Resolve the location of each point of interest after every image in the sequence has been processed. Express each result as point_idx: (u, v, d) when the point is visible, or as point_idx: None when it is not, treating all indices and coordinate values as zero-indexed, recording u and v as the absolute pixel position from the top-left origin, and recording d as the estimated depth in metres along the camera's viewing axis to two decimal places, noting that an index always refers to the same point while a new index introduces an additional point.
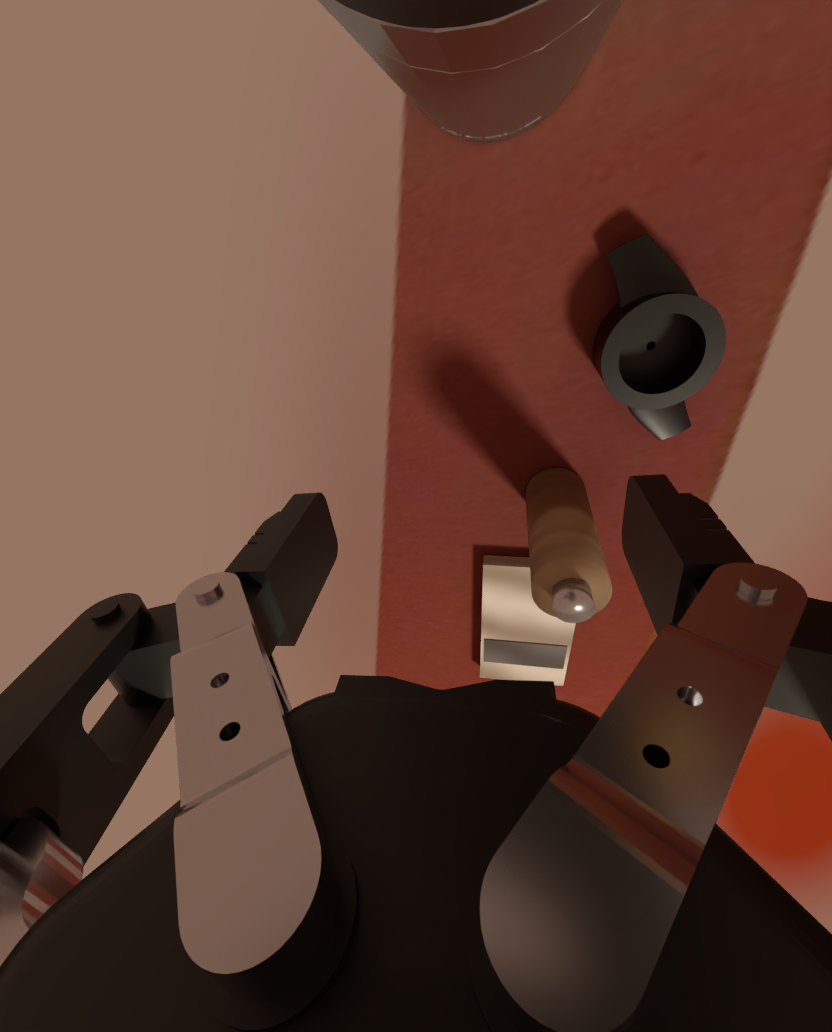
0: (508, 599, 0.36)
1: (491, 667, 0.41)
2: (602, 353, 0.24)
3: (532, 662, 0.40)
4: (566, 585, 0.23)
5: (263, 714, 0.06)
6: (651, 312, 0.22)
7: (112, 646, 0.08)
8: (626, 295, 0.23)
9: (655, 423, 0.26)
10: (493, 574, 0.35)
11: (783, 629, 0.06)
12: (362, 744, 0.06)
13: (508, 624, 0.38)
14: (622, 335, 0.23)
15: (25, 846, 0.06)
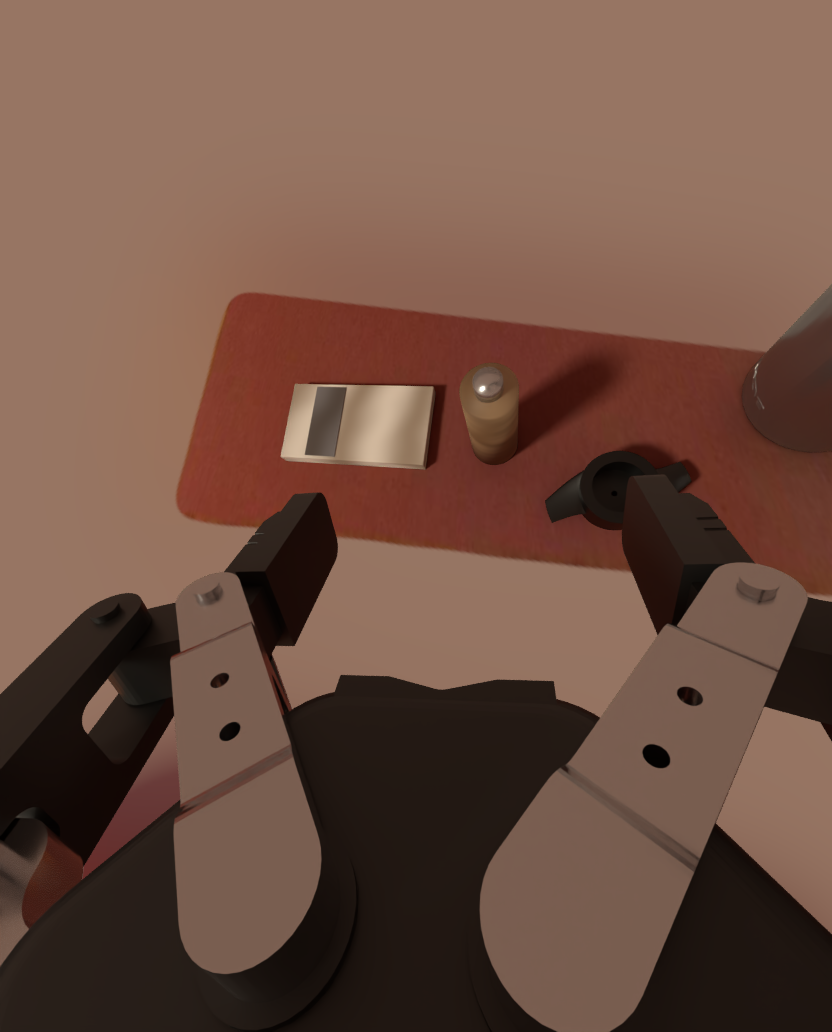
0: (393, 406, 0.42)
1: (308, 394, 0.44)
2: (625, 452, 0.35)
3: (314, 428, 0.43)
4: None
5: (263, 715, 0.06)
6: None
7: (113, 645, 0.08)
8: None
9: (561, 494, 0.36)
10: (422, 394, 0.41)
11: (783, 629, 0.06)
12: (362, 744, 0.06)
13: (363, 407, 0.42)
14: (637, 462, 0.35)
15: (25, 846, 0.06)
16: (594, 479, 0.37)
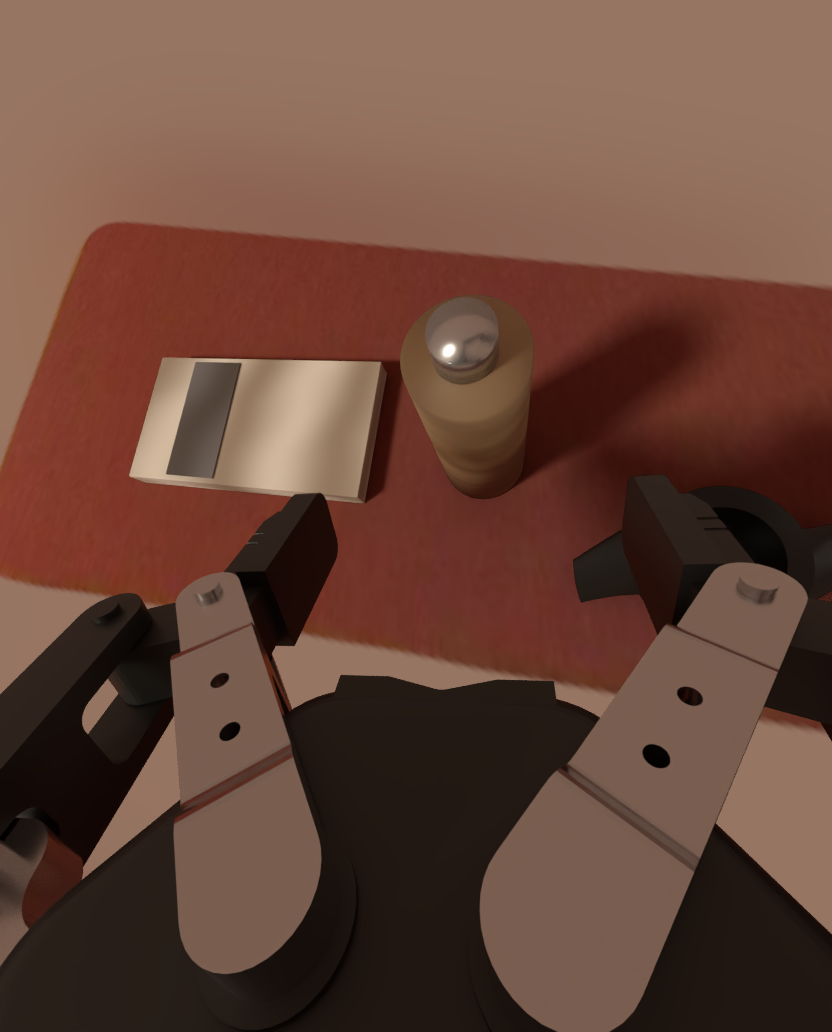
0: (313, 395, 0.25)
1: (182, 374, 0.27)
2: (744, 490, 0.18)
3: (185, 429, 0.26)
4: None
5: (263, 715, 0.06)
6: (793, 550, 0.17)
7: (112, 646, 0.08)
8: None
9: (605, 554, 0.19)
10: (362, 375, 0.24)
11: (783, 629, 0.06)
12: (362, 744, 0.06)
13: (265, 396, 0.25)
14: (767, 514, 0.17)
15: (25, 846, 0.06)
16: None
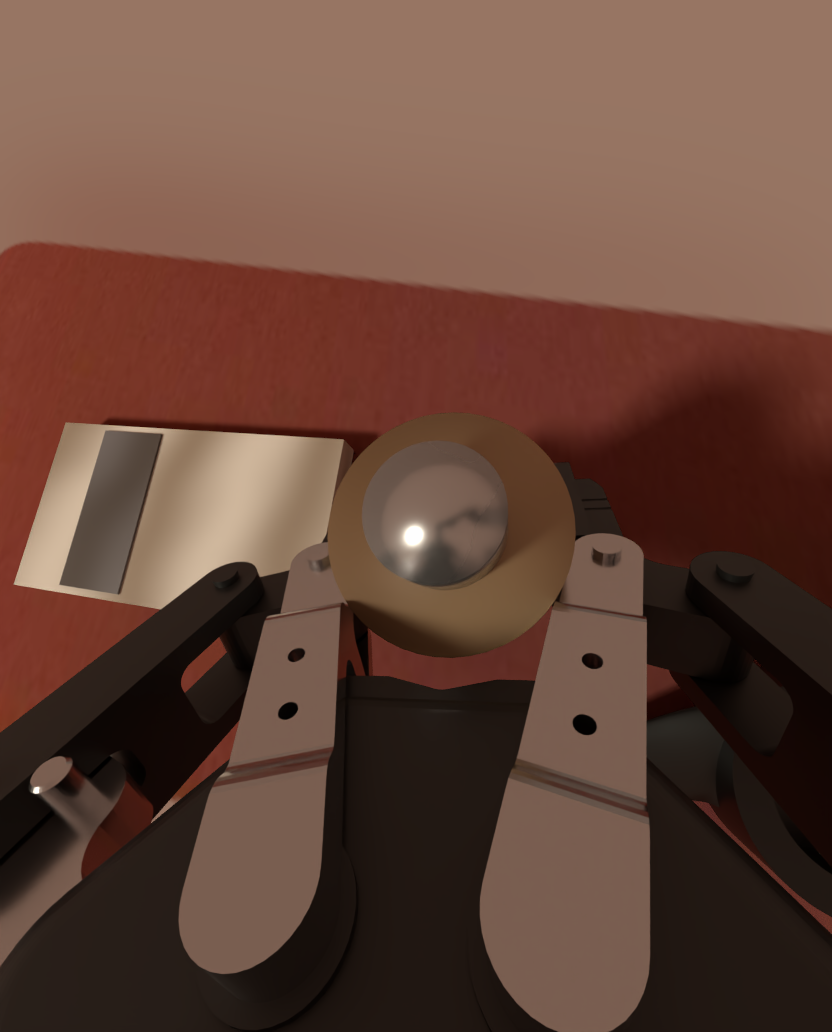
0: (254, 483, 0.18)
1: (88, 446, 0.20)
2: None
3: (87, 523, 0.19)
4: None
5: (320, 705, 0.06)
6: None
7: (221, 614, 0.08)
8: None
9: (665, 737, 0.13)
10: (318, 457, 0.18)
11: (613, 584, 0.07)
12: (362, 744, 0.06)
13: (191, 481, 0.19)
14: None
15: (106, 789, 0.06)
16: None
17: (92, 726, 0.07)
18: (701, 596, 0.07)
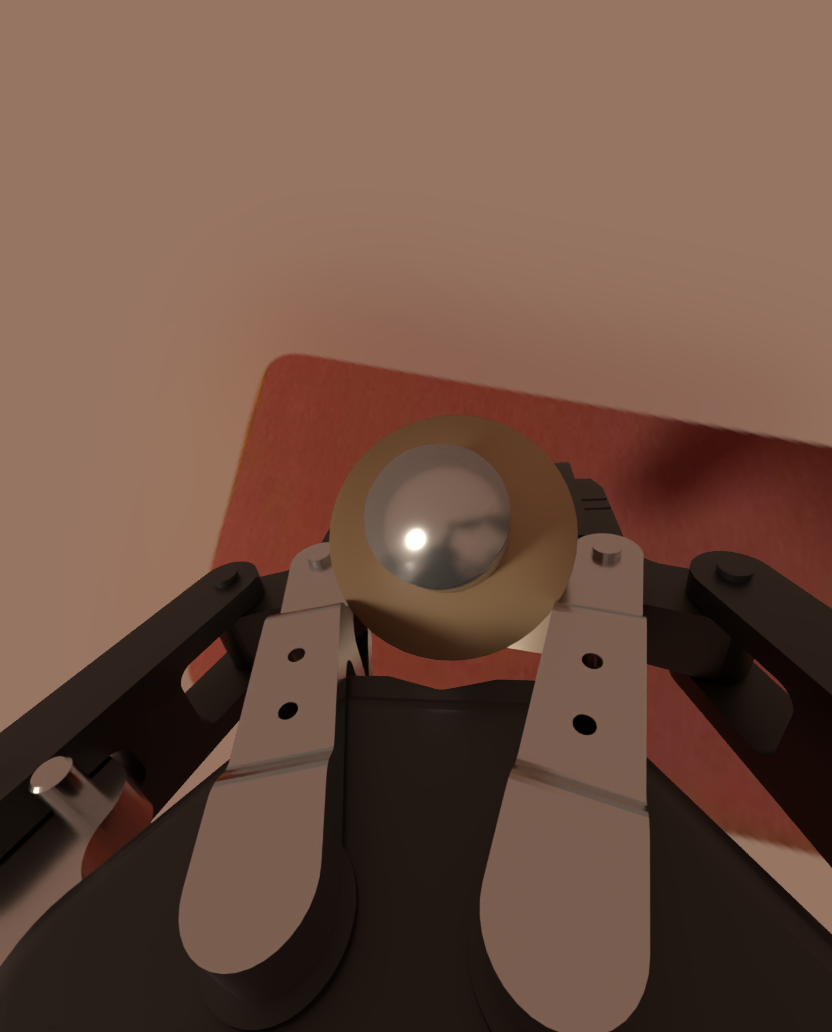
0: None
1: None
2: None
3: None
4: None
5: (320, 705, 0.06)
6: None
7: (221, 614, 0.08)
8: None
9: None
10: None
11: (613, 584, 0.07)
12: (362, 744, 0.06)
13: None
14: None
15: (106, 789, 0.06)
16: None
17: (92, 726, 0.07)
18: (701, 596, 0.07)
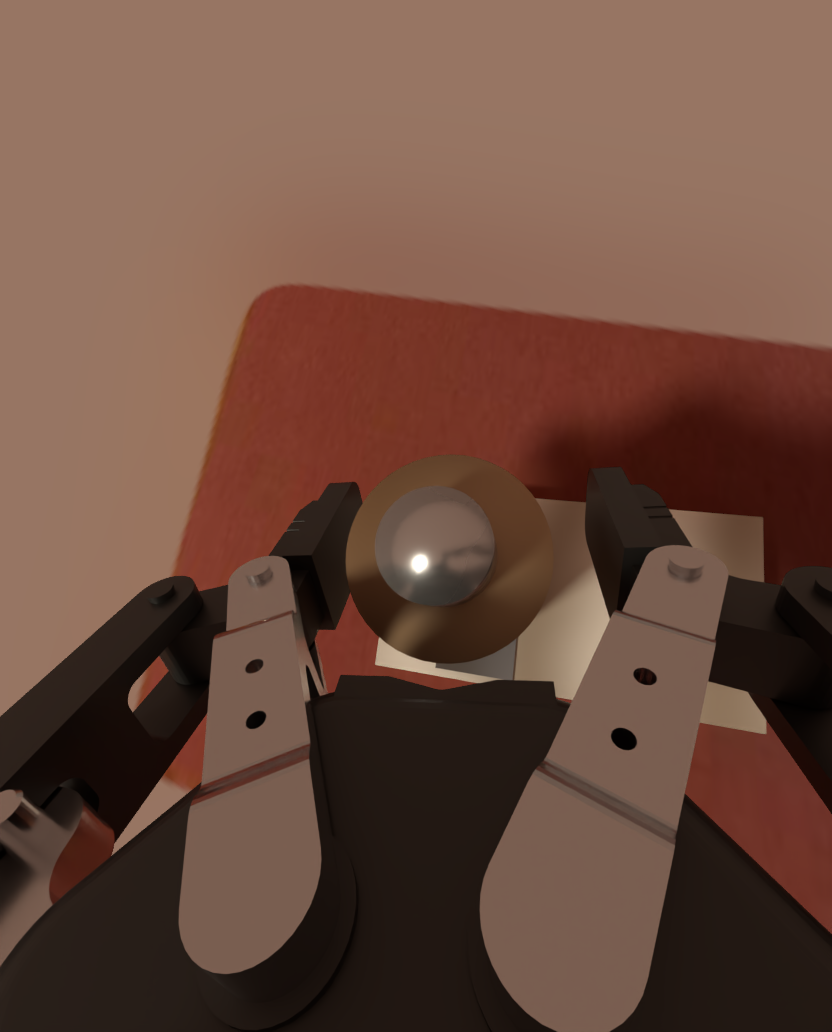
0: None
1: None
2: None
3: None
4: None
5: (289, 708, 0.06)
6: None
7: (162, 628, 0.08)
8: None
9: None
10: (735, 536, 0.17)
11: (701, 603, 0.07)
12: (362, 744, 0.06)
13: (577, 557, 0.18)
14: None
15: (62, 817, 0.06)
16: None
17: (38, 756, 0.06)
18: (791, 610, 0.07)
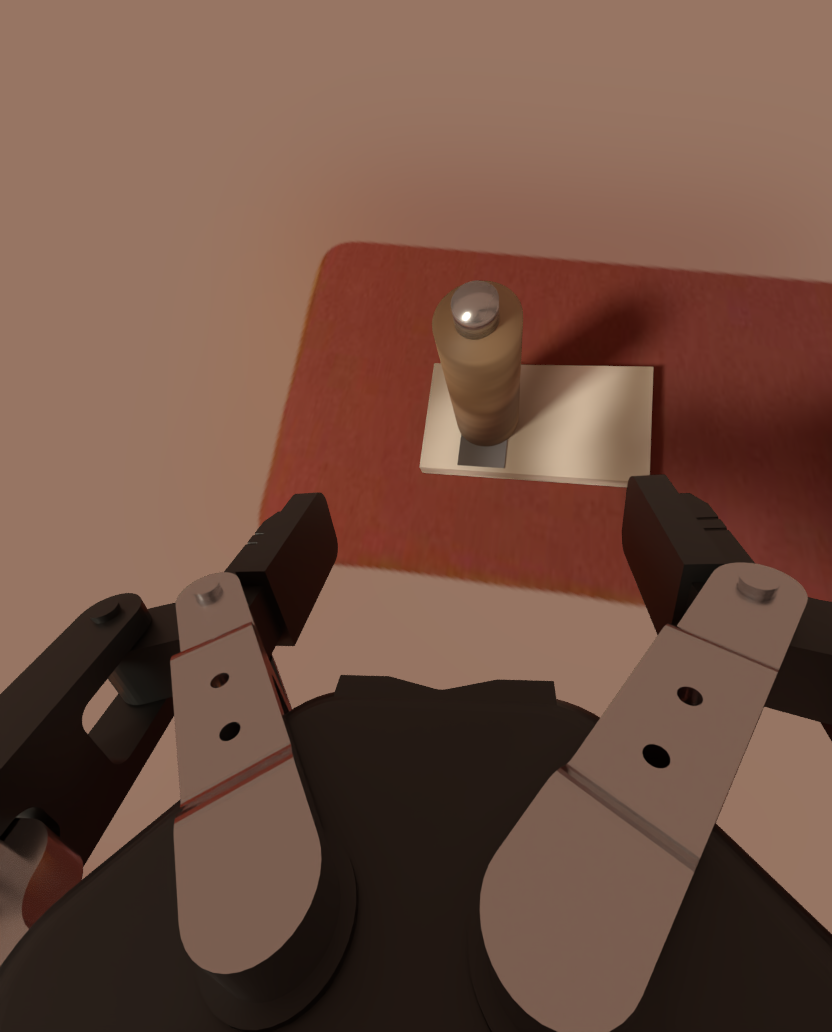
0: (591, 395, 0.28)
1: None
2: None
3: None
4: None
5: (263, 715, 0.06)
6: None
7: (112, 646, 0.08)
8: None
9: None
10: (636, 378, 0.28)
11: (783, 629, 0.06)
12: (362, 744, 0.06)
13: (544, 396, 0.29)
14: None
15: (24, 846, 0.06)
16: None
17: None
18: None
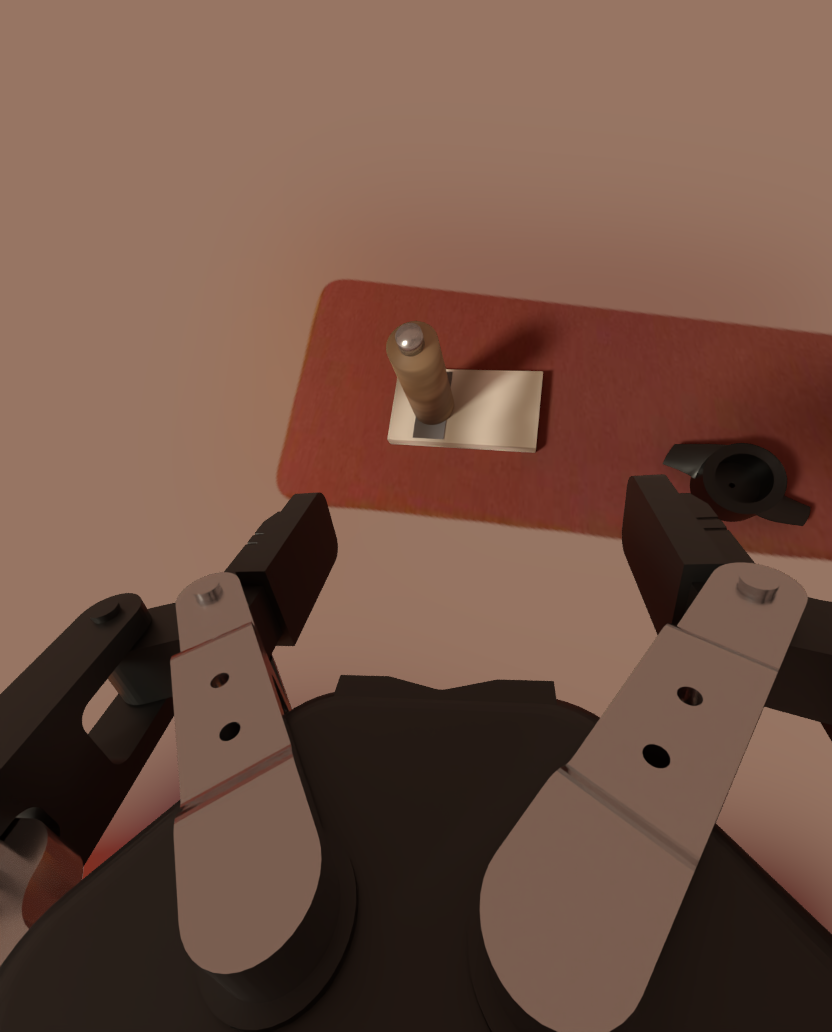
0: (502, 390, 0.42)
1: None
2: (776, 459, 0.35)
3: None
4: None
5: (264, 715, 0.06)
6: (774, 492, 0.34)
7: (112, 646, 0.08)
8: None
9: (691, 449, 0.37)
10: (532, 379, 0.42)
11: (783, 629, 0.06)
12: (362, 744, 0.06)
13: (471, 391, 0.43)
14: (777, 473, 0.35)
15: (25, 846, 0.06)
16: (728, 463, 0.37)
17: None
18: None
